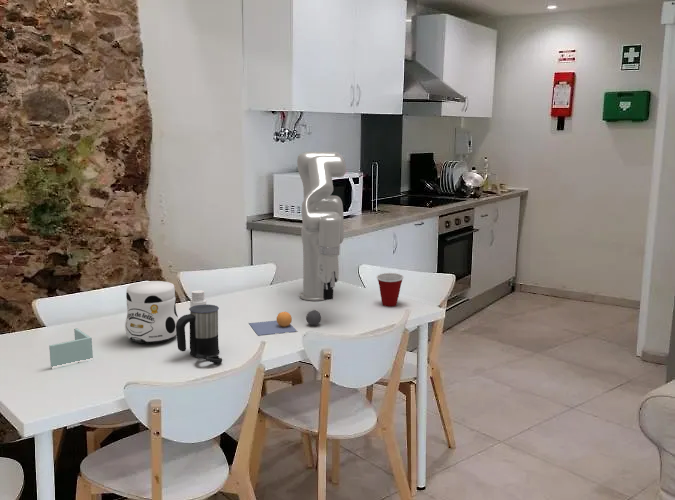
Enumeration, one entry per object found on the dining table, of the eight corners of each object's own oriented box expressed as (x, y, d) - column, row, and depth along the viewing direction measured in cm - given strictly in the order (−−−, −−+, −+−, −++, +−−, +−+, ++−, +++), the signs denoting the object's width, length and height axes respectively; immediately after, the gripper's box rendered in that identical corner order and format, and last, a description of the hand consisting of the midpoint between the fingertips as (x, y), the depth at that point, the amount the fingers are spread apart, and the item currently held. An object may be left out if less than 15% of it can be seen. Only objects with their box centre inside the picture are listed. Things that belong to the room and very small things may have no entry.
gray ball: (317, 306, 236) (315, 319, 238) (304, 309, 233) (302, 321, 235) (324, 313, 232) (323, 326, 234) (311, 316, 229) (310, 329, 232)
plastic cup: (371, 306, 259) (372, 277, 257) (382, 299, 269) (383, 271, 266) (396, 310, 254) (397, 280, 252) (406, 303, 264) (407, 274, 261)
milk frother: (204, 346, 211) (203, 302, 208) (242, 355, 203) (241, 310, 200) (172, 359, 199) (170, 312, 196) (210, 370, 191) (209, 321, 188)
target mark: (248, 323, 235) (248, 323, 235) (286, 320, 240) (286, 319, 240) (258, 335, 222) (258, 335, 222) (297, 331, 227) (297, 331, 227)
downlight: (205, 321, 237) (205, 294, 236) (186, 320, 237) (185, 293, 236) (210, 315, 245) (209, 289, 243) (191, 315, 245) (191, 289, 244)
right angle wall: (78, 350, 206) (77, 328, 205) (93, 361, 198) (91, 337, 196) (38, 359, 199) (37, 335, 197) (52, 370, 190) (50, 346, 188)
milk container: (124, 349, 207) (121, 294, 204) (126, 332, 223) (124, 281, 220) (180, 345, 212) (178, 291, 208) (178, 328, 228) (176, 279, 224)
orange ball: (291, 318, 236) (279, 327, 235) (284, 306, 234) (272, 315, 233) (296, 322, 231) (283, 331, 230) (288, 311, 229) (276, 320, 228)
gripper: (312, 246, 238) (311, 293, 243) (326, 255, 225) (325, 306, 229) (331, 244, 241) (330, 292, 245) (346, 254, 227) (345, 304, 232)
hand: (328, 298), depth 237 cm, fingers closed
